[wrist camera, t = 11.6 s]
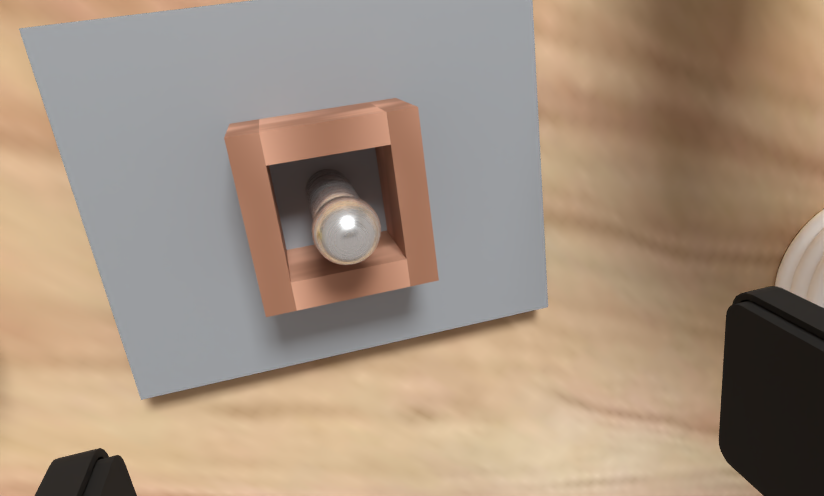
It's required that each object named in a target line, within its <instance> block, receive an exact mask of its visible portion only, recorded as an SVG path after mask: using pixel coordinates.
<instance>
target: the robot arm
mask: <svg viewBox="0 0 824 496" xmlns="http://www.w3.org/2000/svg"><path fill="white" fill-rule="evenodd" d="M719 446H720V449H721V452H722V454H723V456H724V458H725V459H726V461H727V462H728V463H729V464H730V465H731V466H732V467H733V468H734V469H735V470H736V471H737V472H738V473H739V474H740V475H742V476H743V477H744V478H745V479H746V480H747V481H748V482H749V483H750V484H751V485H753V486H754V487H755V488H756V489H757V490H758V491H759V492H760V493H761V494H762V495H764V496H824V308H823V307H820V306H818V305H816V304H814V303H812V302H810V301H808V300H806V299H804V298H802V297H800V296H797V295H795V294H793V293H791V292H789V291H787V290H785V289H783V288H780V287H777V286H770V287H766V288H761V289H757V290H753V291H749V292H745V293H741V294H739V295H738V296H736V298H735V299H734V301H733V305H732V306H730V307H729V309H728V310H727V314H726V328H725V345H724V362H723V379H722V396H721V412H720V429H719ZM35 496H137V495H136V492H135V490H134V487H133V484H132V481H131V479H130V476H129V473H128V471H127V468H126V465H125V463H124V461H123V459H122V458H121V456H119V455H116V456H112V457H109V456H108V454H107V453H106V452H105V450H104V449H101V448H99V449H95V450H91V451H86V452H82V453H78V454H74V455H70V456H66V457H62V458H58V459H55V460H53V462H52V463H51V465H50V466H49V468H48V470H47V472H46V474H45V476H44V478H43V480H42V482H41V484H40V486H39V488H38V490H37V492H36V494H35Z"/></svg>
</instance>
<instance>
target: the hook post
mask: <svg viewBox="0 0 824 496" xmlns="http://www.w3.org/2000/svg"><path fill="white" fill-rule="evenodd" d="M305 193H306V198H307V201H308V205H309V208H310V212H311V215H312V218H313V222H312V238H313V242H314V244H315V246H316V248H317V250H318V251H319V252H320V254H321V255H322V256H324V257H325V258H326V259H328V260H329V261H331V262H333V263H336V264H340V265H352V264H357V263H359V262H362V261H364V260H365V259H367V258H368V257H369V256H370V255H371V254H372V253H373V252H374V251H375V249H376V248H377V246H378V244H379V241H380V237H381V224H380V220H379V218H378V215H377V213H376V212H375V210H374V209H373V208H372V207H371V206H370V205H369V204H368V203H367V202H365V201H364V200H362V199H360V197H359V196H358V194H357V193H356V191H355V190H354V188H353V187H352V185H351V183H350V182H349V180H348V179H347V177H346V176H345V175H344V174H342V173H341V172H339V171H337V170H334V169H324V170H320V171H318V172H316V173H315V174H313V175H312V176H311V178H310V179H309V180H308V182H307V185H306V191H305Z"/></svg>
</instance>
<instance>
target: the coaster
mask: <svg viewBox="0 0 824 496" xmlns="http://www.w3.org/2000/svg"><path fill="white" fill-rule="evenodd" d="M775 286H777V287H780V288H783V289H785V290H787V291H789V292H791V293H793V294H795V295H797V296H800V297H802V298H804V299H806V300H808V301H810V302H812V303H814V304H816V305H818V306H820V307H823V308H824V209H823V210H822V211H820V212H819V213H818V214H816V215H815V216H814V217H813V218H812V219H811V220H810V221H809V222H808V223H807V224H806V225H805V226H804V227H803V228H802V229H801V230H800V232H799V233H798V234H797V235H796V237H795V238H794V240H793V241H792V242H791V244H790V246H789V247H788V249H787V251H786V253H785V255H784V257H783V259H782V261H781V264H780V267H779V270H778V273H777V277H776V282H775Z"/></svg>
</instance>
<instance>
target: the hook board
mask: <svg viewBox="0 0 824 496" xmlns="http://www.w3.org/2000/svg"><path fill="white" fill-rule="evenodd" d="M19 30H20V33H21V36H22V39H23V42H24V45H25V48H26V52H27V55H28V58H29V61H30V64H31V67H32V70H33V73H34V76H35V79H36V82H37V85H38V88H39V91H40V94H41V97H42V100H43V103H44V106H45V109H46V112H47V115H48V118H49V121H50V124H51V127H52V130H53V133H54V137H55V140H56V143H57V146H58V149H59V152H60V155H61V158H62V161H63V164H64V167H65V170H66V173H67V176H68V179H69V182H70V185H71V188H72V191H73V194H74V197H75V200H76V203H77V206H78V209H79V212H80V215H81V218H82V222H83V225H84V228H85V231H86V234H87V237H88V240H89V243H90V246H91V249H92V252H93V255H94V258H95V261H96V264H97V267H98V270H99V273H100V276H101V279H102V282H103V285H104V288H105V291H106V294H107V297H108V300H109V303H110V307H111V310H112V313H113V316H114V319H115V322H116V325H117V328H118V331H119V334H120V337H121V340H122V343H123V346H124V349H125V352H126V355H127V358H128V361H129V364H130V367H131V370H132V373H133V376H134V379H135V382H136V385H137V388H138V392H139V395H140V398H141V400H142V399H147V398H151V397H155V396H160V395H164V394H169V393H173V392H177V391H182V390H186V389H190V388H195V387H199V386H204V385H208V384H212V383H217V382H221V381H226V380H230V379H234V378H239V377H243V376H248V375H252V374H256V373H261V372H265V371H269V370H274V369H278V368H283V367H287V366H291V365H296V364H300V363H305V362H309V361H313V360H318V359H322V358H327V357H331V356H335V355H340V354H344V353H348V352H353V351H357V350H362V349H366V348H370V347H375V346H379V345H384V344H388V343H392V342H397V341H401V340H406V339H410V338H414V337H419V336H423V335H427V334H432V333H436V332H441V331H445V330H449V329H454V328H458V327H463V326H467V325H471V324H476V323H480V322H485V321H489V320H493V319H498V318H502V317H506V316H511V315H515V314H520V313H524V312H528V311H533V310H537V309H542V308H546V307H548V295H547V276H546V256H545V237H544V217H543V198H542V179H541V159H540V140H539V120H538V101H537V82H536V62H535V43H534V23H533V4H532V0H252V1H244V2H236V3H227V4H219V5H211V6H202V7H194V8H186V9H178V10H169V11H161V12H153V13H144V14H136V15H128V16H120V17H111V18H103V19H95V20H86V21H78V22H70V23H61V24H53V25H45V26H37V27H28V28H20V29H19ZM392 98H397V99H400V100H402V101H405V102H407V103H410V104H412V105H415V106H417V107H418V110H419V119H420V127H421V135H422V144H423V152H424V160H425V169H426V177H427V185H428V194H429V202H430V210H431V219H432V227H433V235H434V244H435V252H436V260H437V269H438V277H439V281H434V282H429V283H425V284H420V285H415V286H411V287H406V288H401V289H396V290H392V291H387V292H382V293H378V294H373V295H368V296H364V297H359V298H354V299H350V300H345V301H340V302H335V303H331V304H326V305H321V306H317V307H312V308H307V309H303V310H298V311H293V312H289V313H284V314H279V315H275V316H270V317H266V315H265V311H264V307H263V303H262V298H261V294H260V290H259V285H258V281H257V277H256V273H255V268H254V264H253V260H252V255H251V251H250V247H249V243H248V238H247V234H246V230H245V225H244V221H243V217H242V213H241V208H240V204H239V200H238V195H237V191H236V187H235V183H234V178H233V174H232V170H231V165H230V161H229V157H228V153H227V148H226V144H225V140H224V137H225V134H226V132H227V129H228V126H229V124H231V123H238V122H244V121H251V120H257V119H263V118H270V117H276V116H283V115H289V114H295V113H302V112H308V111H315V110H321V109H327V108H334V107H340V106H347V105H353V104H360V103H366V102H372V101H379V100H385V99H392ZM269 168H270V173H271V178H272V183H273V187H274V192H275V197H276V202H277V206H278V211H279V216H280V221H281V225H282V230H283V235H284V239H285V244H286V249H287V250H289V249H294V248H300V247H305V246H310V245H315V244H314V242H313V238H312V222H313V218H312V215H311V212H310V208H309V205H308V201H307V198H306V193H305V191H306V185H307V182H308V180H309V179H310V178H311V176H312V175H313V174H315V173H316V172H318V171H320V170H324V169H334V170H337V171H339V172H341V173H342V174H344V175H345V176H346V177H347V179H348V180H349V182H350V183H351V185H352V187H353V188H354V190H355V191H356V193H357V194H358V196H359V197H360V199H362V200H364V201H365V202H367V203H368V204H369V205H370V206H371V207H372V208H373V209H374V210H375V212H376V213H377V215H378V218H379V220H380V224H381V232H382V231H387V225H386V218H385V212H384V205H383V198H382V191H381V185H380V178H379V171H378V164H377V158H376V151H375V147H374V148H368V149H362V150H356V151H350V152H344V153H338V154H332V155H327V156H321V157H315V158H309V159H303V160H297V161H291V162H285V163H279V164H273V165H269Z"/></svg>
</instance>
